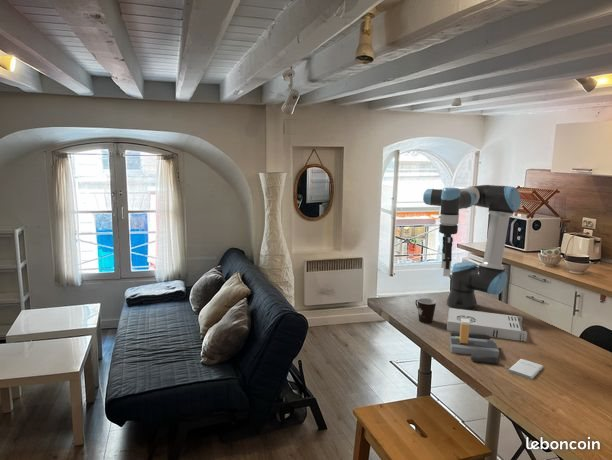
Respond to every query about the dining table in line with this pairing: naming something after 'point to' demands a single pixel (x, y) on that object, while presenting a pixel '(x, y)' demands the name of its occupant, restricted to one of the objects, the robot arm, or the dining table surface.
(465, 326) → the block
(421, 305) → the coffee mug
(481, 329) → the power supply unit
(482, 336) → the dark grey rounded rod
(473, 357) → the dark grey capsule rod
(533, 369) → the external hard drive
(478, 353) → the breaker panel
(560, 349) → the dining table surface
